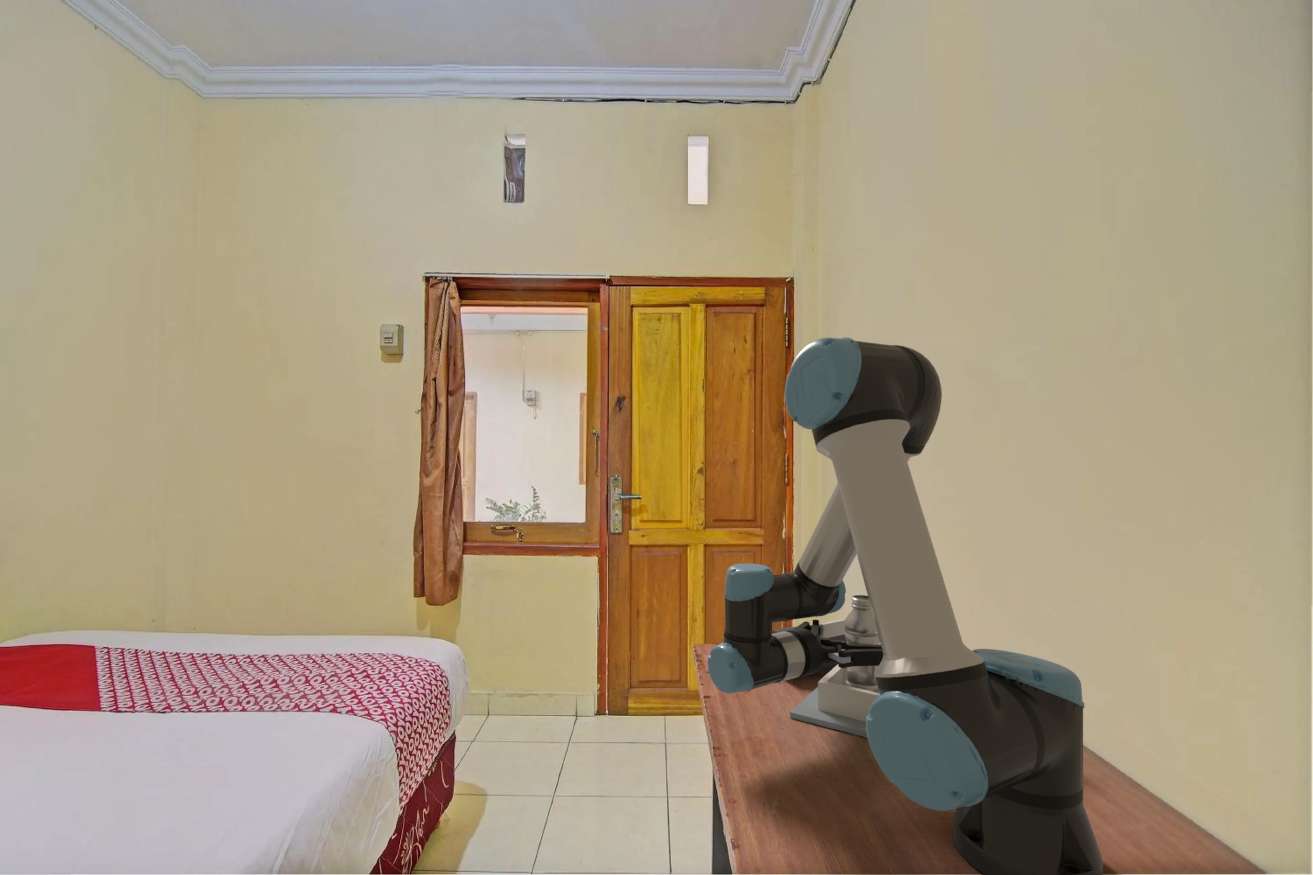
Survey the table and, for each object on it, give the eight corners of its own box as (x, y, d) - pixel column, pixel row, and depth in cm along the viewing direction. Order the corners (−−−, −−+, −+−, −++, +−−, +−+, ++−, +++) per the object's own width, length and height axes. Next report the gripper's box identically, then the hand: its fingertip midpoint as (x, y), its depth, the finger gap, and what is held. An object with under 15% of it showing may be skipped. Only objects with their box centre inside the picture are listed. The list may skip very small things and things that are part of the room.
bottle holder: (908, 748, 98) (908, 710, 98) (790, 717, 109) (790, 683, 110) (931, 706, 115) (931, 674, 115) (826, 683, 126) (826, 654, 126)
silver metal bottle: (885, 715, 108) (885, 602, 108) (845, 712, 110) (845, 600, 110) (879, 700, 114) (879, 594, 115) (842, 697, 116) (842, 592, 116)
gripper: (742, 655, 113) (823, 638, 125) (850, 702, 92) (935, 676, 104) (743, 614, 114) (823, 601, 125) (850, 652, 93) (935, 631, 104)
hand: (874, 635), depth 114 cm, fingers open, 13 cm apart
